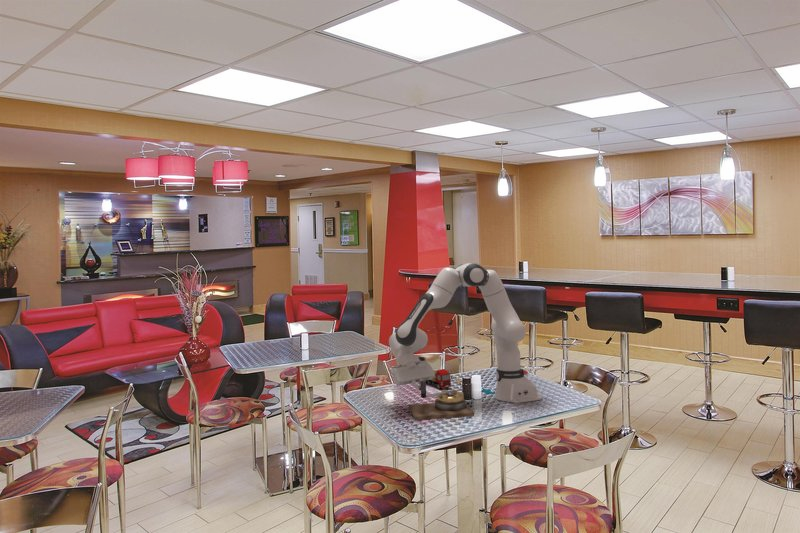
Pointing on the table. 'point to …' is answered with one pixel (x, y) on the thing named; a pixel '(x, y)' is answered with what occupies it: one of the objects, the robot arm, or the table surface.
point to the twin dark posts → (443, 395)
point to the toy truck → (441, 379)
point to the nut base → (440, 410)
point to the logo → (482, 388)
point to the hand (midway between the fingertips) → (420, 389)
